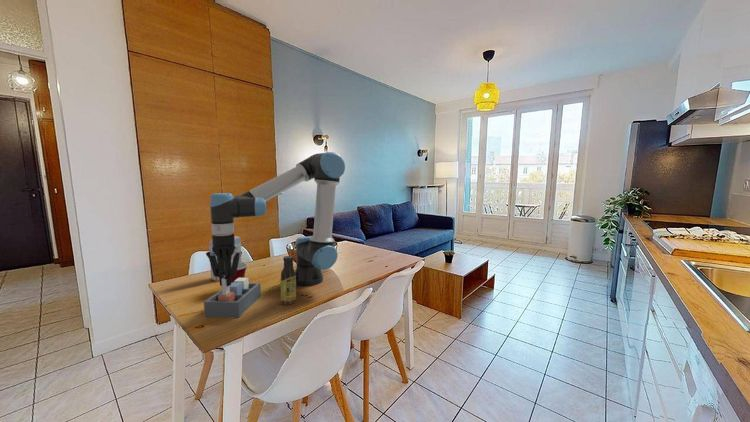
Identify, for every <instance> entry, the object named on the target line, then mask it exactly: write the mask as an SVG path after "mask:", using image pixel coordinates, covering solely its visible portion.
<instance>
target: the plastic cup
mask: <svg viewBox="0 0 750 422" xmlns="http://www.w3.org/2000/svg"><path fill="white" fill-rule="evenodd" d="M232 263H233V262H231V268H232ZM248 267H249V266H248V263H246V262H243V261H242V262H239V263H238V267H237V272H236V275H234V276H233V277H231V282H233V283H234V281H235V280H236V279H238V278H245V275H246V270H247V268H248Z"/></svg>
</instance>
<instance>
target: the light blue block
mask: <svg viewBox="0 0 750 422" xmlns="http://www.w3.org/2000/svg"><path fill="white" fill-rule="evenodd" d="M230 292H234V293H235V294H242V283H231V285H230Z"/></svg>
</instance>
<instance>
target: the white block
mask: <svg viewBox="0 0 750 422" xmlns="http://www.w3.org/2000/svg"><path fill="white" fill-rule="evenodd" d="M234 283H242V289H249V283H250V281H249V277H244V278H238V279H236V280H235V281H234Z"/></svg>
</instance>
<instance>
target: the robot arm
mask: <svg viewBox="0 0 750 422" xmlns="http://www.w3.org/2000/svg"><path fill="white" fill-rule="evenodd" d="M345 170H346V164H345V160H344V159H343V157H342V156H341V155H340V154H339V153H338V152H334V151H333V152H332V151H325V152H321V153H320V152H319V153H314V154H313V155H310V156H309V157H307V158H305V159H304V160H302V161H300V162H298V163H296V164H295V167H293V168H291V169H289V170H287V171H285V172H283V173H281V174H279V175H277V176H275V177H273V178H271V179H269V180H267V181H265V182H264V183H262V184H260V185H257V186H256V187H253V188H252V189H250V190H248V191H246V192H244V193H242V194H238V195H235V196H234V195H233V193H229V192H220V193H219V192H216V193H215V192H214V193H212V194H211V195H210V197H209V199H210V203H209V204H210V205H209V208H210V210H209V211H210V221H211V223H210V225H211V234H212V235H211V240H212V244H213V247H212V250H211V251H207V252H206V253H205V254H206V257H207V258H208V261H209V265H210V264H211V265H210V268H211V267H212V271H213V274H214V276H215V277H216V276H217V277H219V279H220V281H219V286H220V287H221V289H222V295H227V294H228V293H230V285H231V277H233V276H234V275H236V272H237V267H238V263H239V258H240V256H241V257H242V254H243V252H242V250H241V251H240V252H239V251H237V250H236V247H235V245H234V243H235V239H234V236H235V233H234V232H235V223H234V221H235V219H234V218H236V219H237V218H249V217H250V218H251V217H262V216H265V215H266V213H267V201H269V200H271V199H272V198H275V197H276V196H278V195H281V194H283V193H284V192H286V191H288V190H289V189H291V188H293V187H296V185H299V184H301V183H302V182H309V181H311V180H313V182H315V184H316V194H315V195H316V196H315V205H314V207H315V208H314V221H313V230H312V231H313V232H312V235H309V236H301V237H297V238H296V240H295V256H296V257H295V258H296V260H295V261H296V266H295V269H294V271H295V274H296V286H297V285H298V286H305V287H306V286H315V285H319V284H320V283H322V282H323V281H324V273H323V271H324V270H325V271H326V270H328V269H331V268H332V267H333V266H334V265H335V264H336V262H337V259H338V257H339V256H338V255H339V253H338V250H337V249H336V248H335V239H334V238H333V236H332V235H333V224H334V212H335V211H334V210H335V201H336V199H335V198H336V190H337V189H336V188H337V187H336V186H338V185H339V184H340V180H341V178H340V177H342V176H343V175H344V173H345ZM233 253H234V258H233V263H232V268H231V259H232V254H233ZM215 255H216V256H217V259H216V256H215ZM217 261H218V263H217Z"/></svg>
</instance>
